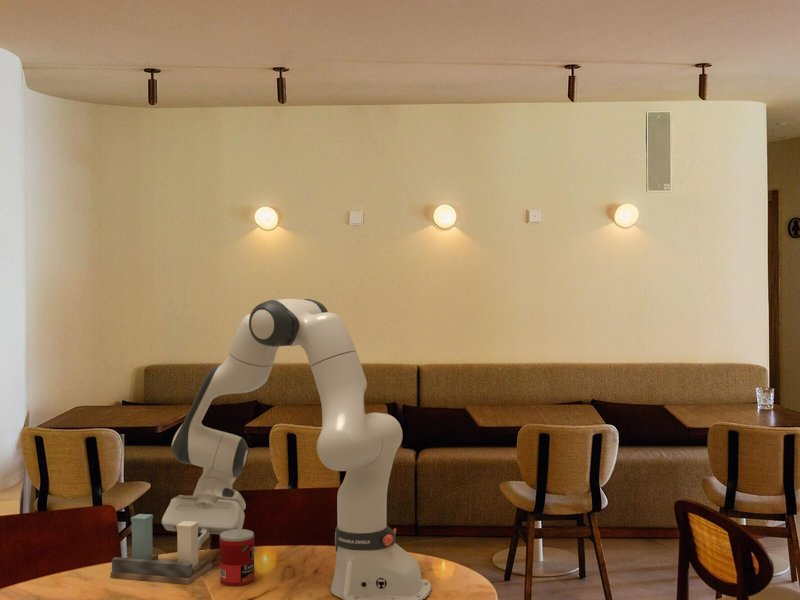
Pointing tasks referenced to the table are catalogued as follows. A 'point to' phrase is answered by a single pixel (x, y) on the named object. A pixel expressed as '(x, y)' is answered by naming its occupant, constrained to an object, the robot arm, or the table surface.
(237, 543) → the canned food
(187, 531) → the cream tall block
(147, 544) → the light blue tall block
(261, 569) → the table surface
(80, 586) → the table surface
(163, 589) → the table surface
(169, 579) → the board
